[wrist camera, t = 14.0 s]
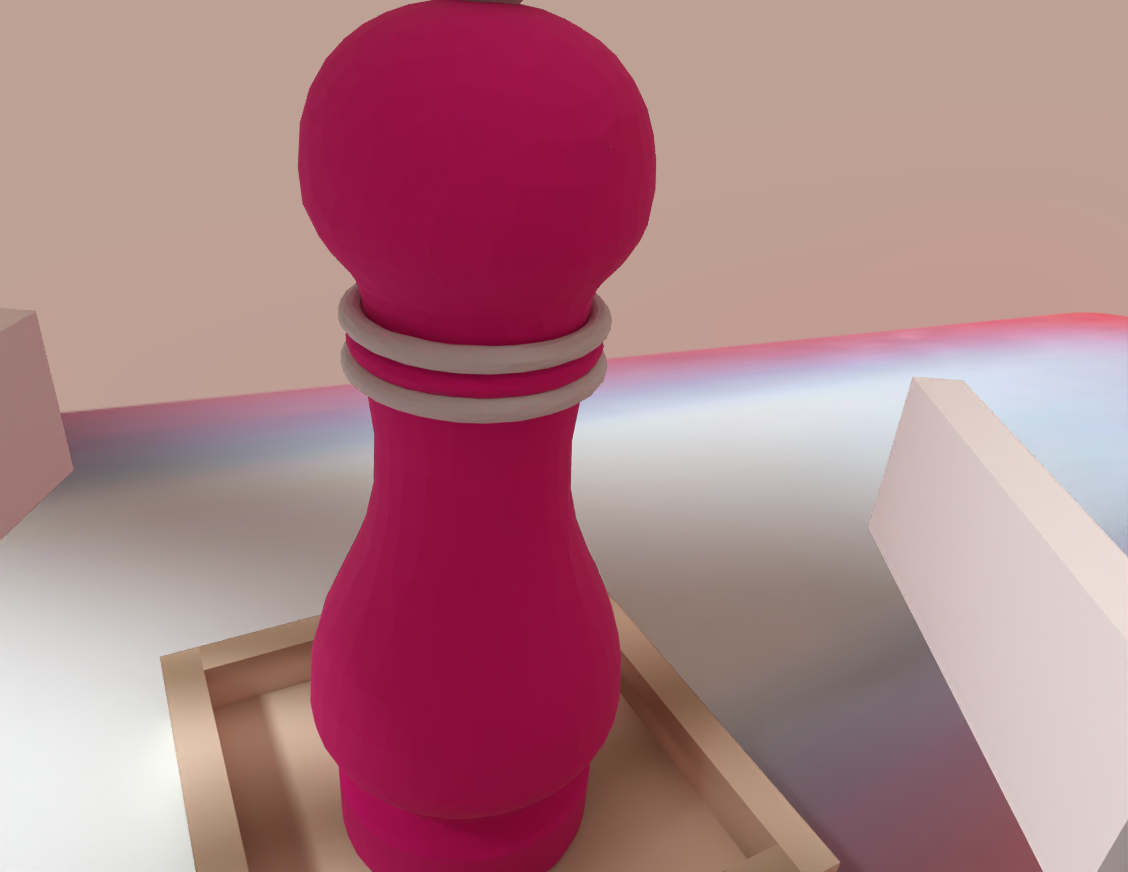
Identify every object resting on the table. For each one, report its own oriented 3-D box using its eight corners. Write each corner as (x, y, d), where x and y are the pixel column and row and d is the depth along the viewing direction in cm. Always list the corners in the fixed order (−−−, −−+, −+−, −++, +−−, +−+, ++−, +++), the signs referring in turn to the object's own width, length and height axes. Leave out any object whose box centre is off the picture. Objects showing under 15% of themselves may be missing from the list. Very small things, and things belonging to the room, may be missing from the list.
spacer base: (172, 716, 25) (159, 657, 23) (565, 600, 30) (570, 548, 29) (261, 1241, 15) (247, 1181, 14) (818, 922, 20) (840, 861, 19)
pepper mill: (583, 684, 26) (670, -85, 16) (626, 917, 19) (810, -116, 10) (339, 693, 25) (277, -121, 15) (301, 941, 18) (156, -182, 9)
